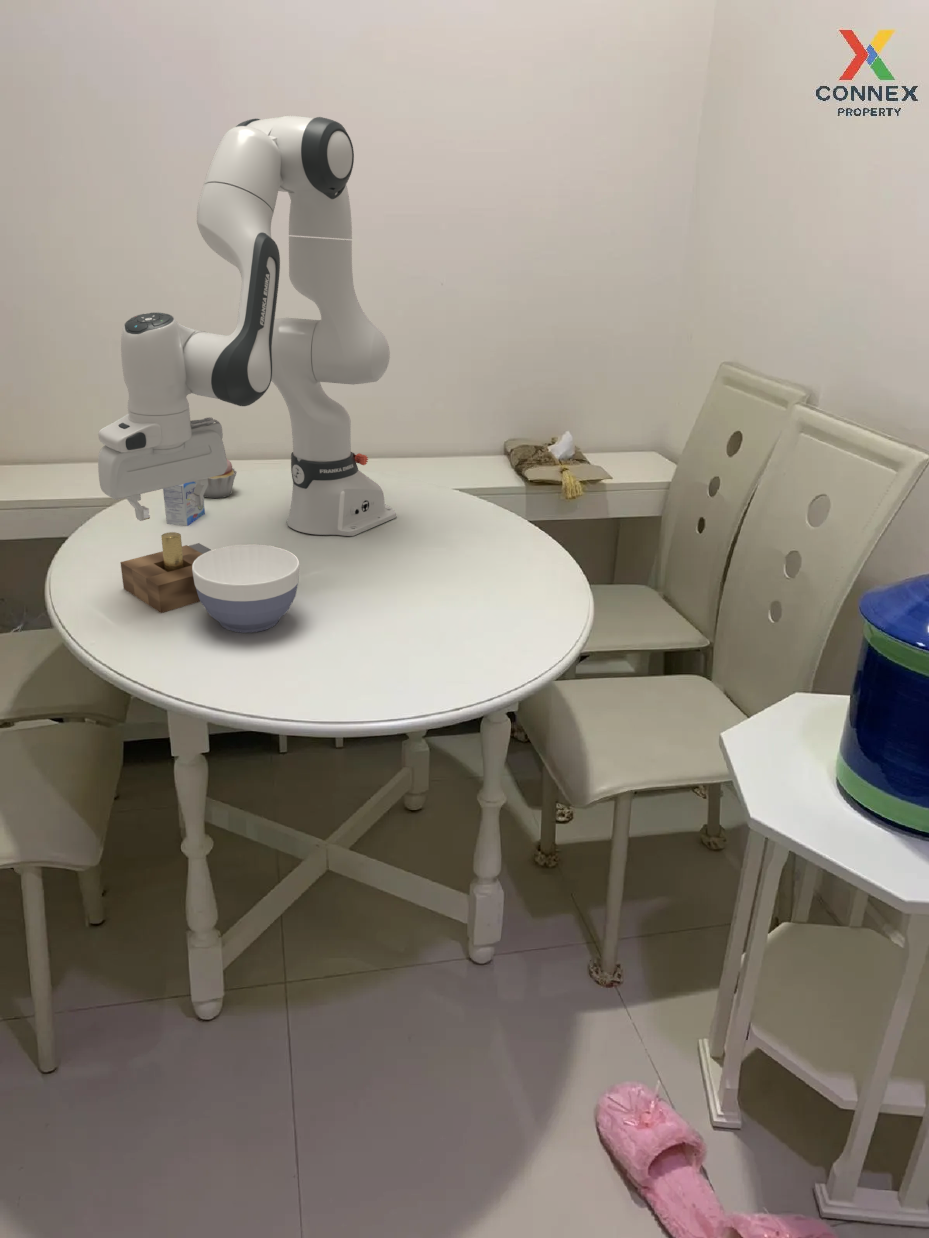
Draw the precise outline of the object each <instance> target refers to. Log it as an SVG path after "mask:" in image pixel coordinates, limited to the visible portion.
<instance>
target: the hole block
mask: <svg viewBox="0 0 929 1238" xmlns="http://www.w3.org/2000/svg"><path fill="white" fill-rule="evenodd" d="M182 553H183V565H184V568H181V569H177V570H174V571H170V572H167V571H165V568H164V558H163V550H162V551H159V552H158V551H157V552H154V553H151V554H147V555H143V556H138V557H135V558H131V559H128V560H124V561H120V568H121V569H120V570H121V571H120V572H121V577H122V584H123V585H122V586H123V590H124V591H126V592H128V593H129V594H131V595H132V596H133V597H135V598H137V599H139V601H142V602H143V603H144V604H146V605H148V606H149V607H150V608H152V609H153V610H155V611H157V612H158V613H160V614H163V613H167V612H170V611H173V610H177V609H180V608H183V607H186V606H190V605H194V604H197V603H199V602H200V603H201V601H200V600H199V597H198V593H197V590H196V587H195V584H194V578H193V571H192V565H193V563H194V561H195V560H196V559H197V558H198V557H199V556H200V555H202V553H200V552H198V551H196V550H195V549H193V548H191V547H189V545H188V544H185V545H182Z"/></svg>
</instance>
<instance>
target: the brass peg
mask: <svg viewBox="0 0 929 1238" xmlns="http://www.w3.org/2000/svg"><path fill="white" fill-rule="evenodd" d="M160 536H161V537H160V538H161V545H162V551H163V558H164V568H165V571H167V572H170V571H174V570H177V569H181V568H184V565H183V553H182V546H183V541H182V535H181V533H179V532H175V531H174V532H173V531H171V532H170V531H169V532H166V533H163V534H162V535H160Z"/></svg>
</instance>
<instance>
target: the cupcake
mask: <svg viewBox="0 0 929 1238" xmlns="http://www.w3.org/2000/svg"><path fill="white" fill-rule="evenodd" d="M237 473H238V471H237V470H235V468H234V467H233V464H232V462H231V461H230V459H228V458H227V469H226V471H225V473H224V474H222V475H218V476H214V477H210V478H208V486H207V488H206V490H205V493H204V495H203V497H205V498H209V499H220V498H225V497H228V496H230V495H231V494H232V492H233V486H234V483H235V478H236V476H237Z"/></svg>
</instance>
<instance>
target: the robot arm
mask: <svg viewBox="0 0 929 1238" xmlns="http://www.w3.org/2000/svg"><path fill="white" fill-rule="evenodd" d="M354 153H355V152H354V146H353V142H352V140H351V137H350V136H349V134H348V132H347V130H346V129H345V127H344V125H342V124H341V123H340V122H338V121H337V120H333V119H330V118H327V117H321V116H317V117H310V116H309V117H308V116H299V115H283V116H281V117H279V116H278V117H270V118H264V119H260V118H252V119H247V120H245V121H242V122H240V123H239V124H237V125H236V126H234V127H231V128H230V129H228V130H227V131H226V132H225V133H224V135H223V137H222V138H221V140H220V142H219V144H218V145H217V148H216V151H215V153H214V154H213V157H212V160H211V161H210V164H209V167H208V170H207V173H206V176H205V178H204V182H203V185H202V189H201V192H200V195H199V196H200V197H199V200H198V203H197V209H196V224H197V227H198V230H199V233H200V235H201V238H202V239H203V240H204V242H205V244H206V245H207V246H208V247H209V248H210V249H211V250H212V251H213V252H214V253H216V254H217V255H218V256H219V257H221V258H222V259H224V260H225V261H227V262H228V263H230V264H231V265H233V266H235V267H236V268H237V270H238V272H239V274H240V277H241V288H240V297H239V303H238V314H237V322H236V328H235V329H234V331H233V332H232V333H230V334H228V335H226V334H219V333H214V332H213V333H212V332H207V331H205V330H198V329H196V328H195V329H194V328H193V327H188V326H185V325H183V324H181V323H180V322H178V321H176V318H175V317H174V316H173V315H171V314H169V313H164V312H149V313H141V314H137V315H134V316H133V317H131V318H129V319H128V320H127V321H126V322H125V323H124V324H123V327H122V330H121V337H120V339H121V340H120V351H121V352H120V353H121V354H120V355H121V367H122V373H123V380H124V383H125V386H126V388H127V391H128V392H127V393H128V401H127V413H126V414H125V415H123V416H122V417H120V418H119V419H117V420H115V421H114V422H112V423H109V424H107V425H106V426H104V427H103V428H101V429H100V430H99V431H98V434H97V435H98V440H99V442H100V443H101V444H102V445H103V446H102V447H101V449H100V451H99V453H98V458H97V465H98V466H97V468H98V469H97V470H98V480H99V486H100V489H101V491H102V492H103V493H104V494H105V495H106V496H108V497H109V498H111V499H113V500H121V499H126V500H127V502H128V503H129V504H130V506H132V508H133V509H134V514H135V518H136V519H137V521H140V522H142V521H146V520H149V519H150V518H151V515H150V508H148V507H146V506H145V505H141V504H140V503H139V502H140V501H141V500H142V496H141V495H143V494H145V493H150V492H154V491H155V492H156V491H159V490H163V489H164V488H168V487H172V486H176V485H181V484H185V483H189V482H193V481H194V482H195V483H197V484H196V487H195V489H194V492H193V493H192V494H189V498H190V504H191V505H192V506H194V507H197V506H200V505H203V497H204V496H203V495H204V493H205V490H206V488H207V486H208V478H210V477H214V476H218V475H222V474H224V473H225V471H226V469H227V459H228V457H227V454H226V453H227V452H226V449H225V444H224V441H223V434H224V433H223V426H222V424H221V423H220V421H219V420H217V419H214V418H213V417H205V418H202V419H193V420H191V414H190V413H191V411H190V404H189V401H188V398H187V397H188V396H189V395H191V394H193V395H197V396H201V397H206V398H211V399H217V400H220V401H222V402H225V403H229V404H232V405H235V406H238V407H248V406H251V405H253V404H254V403H256V402H257V401H258V400H259V399H260V398H262V397H263V396H264V395H265V394H266V393H267V391H268V389H269V388H270V386H271V384H272V383H273V385H275V386H276V389H278V391H279V393H280V394H281V396H282V398H283V400H284V402H285V403H286V408H287V410H288V413H289V418H290V426H291V437H292V452H291V453H290V454H291V455H290V470H291V471H290V473H291V479H292V491H291V492H292V493H291V502H290V508H289V513H288V516H287V520H286V524H287V526H288V527H289V528H290V529H292V530H294V531H298V532H300V533H305V534H311V535H321V536H322V535H323V536H325V535H326V536H327V535H329V536H330V535H332V536H333V535H335V536H336V535H337V536H343V537H344V536H345V537H354V536H356V535H358V534H361V533H363V532H366V531H368V530H370V529H372V528H375V527H377V526H380V525H381V524H385V523H386V522H389V521H390V520H393V519H396V518H397V512H396V510H395V509H394V508H392V507H391V506H389V505H387V504H385V503H386V502H385V496H384V492H383V491H384V490H383V489H382V487H381V486H380V485H379V484H378V483H377V482H376V481H374V479H372V478H370V477H369V476H367V475H366V474H364V473H363V472H362V471H361V470H359V467H358V464H359V465H362V466H366V465H367V464H368V461H369V457H368V456H367V455H366V454H362V453H360V452H359V453H357V454H355V453H354V452H353V451H351V450H352V443H351V440H352V439H351V437H352V434H351V433H352V431H351V429H352V424H351V417H350V415H349V413H348V411H347V410H346V408H345V407H344V406H343V405H342V404H341V403H339V402H337V401H336V400H334V399H332V398H331V397H329V395H328V394H327V393H326V392H325V391H324V389H323V387H322V384H321V383H328V384H329V383H330V384H343V385H353V386H355V385H363V384H370V383H377V382H378V381H379V380H380V379H381V378H382V377H383V376H384V374H385V373H386V371H387V369H388V367H389V363H390V358H391V357H390V356H391V355H390V354H391V352H390V346H389V343H388V340H387V338H386V336H385V334H384V333H383V331H382V330H380V329H379V327H377V326H376V324H373V322H372V320H370V319H369V318H368V316H367V315H366V313H365V312H364V310H363V308H362V307H361V304H360V301H359V300H358V297H357V295H356V290H355V285H354V276H353V252H352V251H353V241H352V239H353V234H352V233H353V230H352V229H353V227H352V224H353V223H352V222H353V221H352V212H351V211H352V209H351V205H350V196H349V195H350V194H349V191H348V185H347V183H348V181H349V180H350V177H351V176H352V172H353V168H354V163H355V162H354V160H355V155H354ZM279 192H283V193H287V194H288V195H289V198H290V204H289V216H288V217H289V218H288V219H289V220H288V277H289V280H290V283H291V285H292V287H294V289H295V290H296V291H297V292H298V294H300V295H302V296H303V297H305V298H307V299H309V300H310V301H312V302H313V303H314V304H315V305H316V307H317V308H318V310H319V313H320V318H321V319H308V318H296V317H279V318H276V310H277V302H278V291H279V284H280V283H279V282H280V273H281V272H280V270H281V257H280V249H279V247H278V244H277V243H276V241H275V240H274V239H273V238H272V230H271V229H272V228H271V227H272V221H273V216H274V214H275V209H276V203H277V198H278V193H279ZM271 382H272V383H271Z"/></svg>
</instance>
